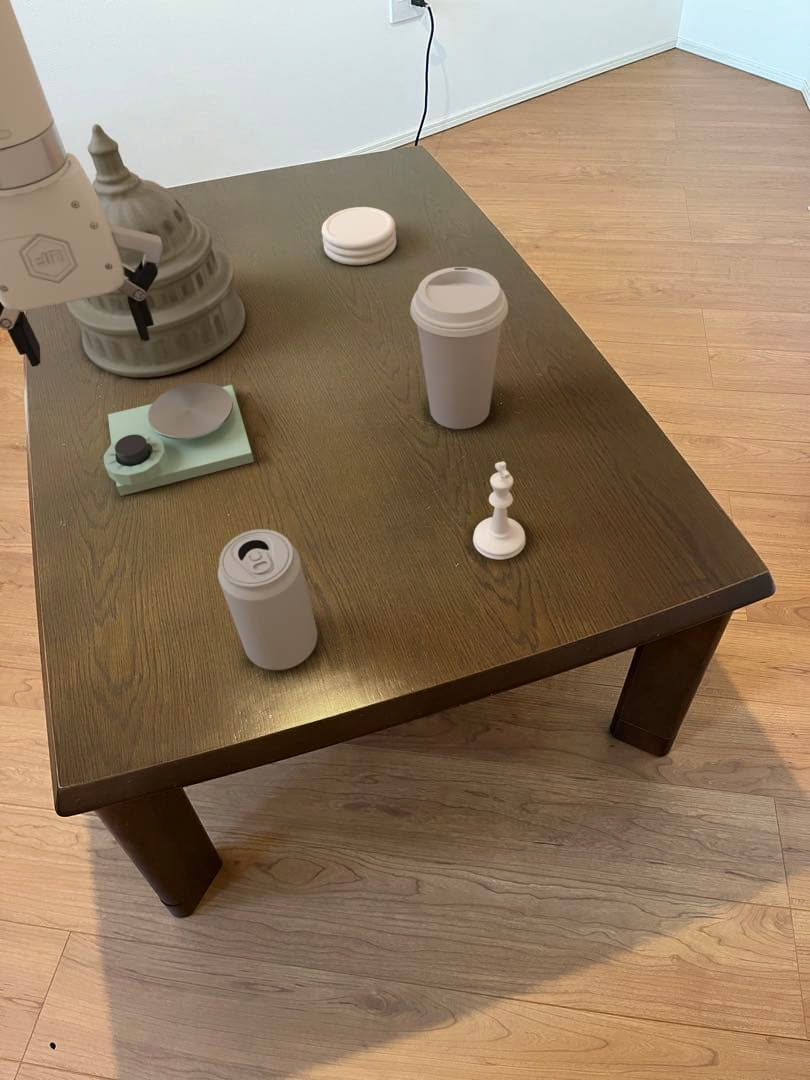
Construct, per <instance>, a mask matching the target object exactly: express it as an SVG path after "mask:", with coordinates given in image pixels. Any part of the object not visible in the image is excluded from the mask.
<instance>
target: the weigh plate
mask: <svg viewBox="0 0 810 1080" xmlns="http://www.w3.org/2000/svg"><path fill="white" fill-rule="evenodd" d="M222 387H223V386H220V385H218V384H215V383H210V382H205V381H204V382H201V381H200V382H199V381H198V382H188V383H184V384H181V385H180V384H179V385H177V386H175V387H173V388H172V387H171V388H170V389H167V390H166V391H164V392H163V393H162V394H160V395H159V396H158V397H157V398H155V400H154V401H153V402H152V403H151V404H152V405H151V407H150V409H149V412H148V421H149V424H150V426H151V428H152V429H153V430H154V431H155V432H156V433H158V434H159V435H161V436H164V437H167V438H171V439H192V438H197V437H200V436H203V435H206V434H208V433H210V432H212V431H214V430H216V429H217V428H219V427H220V426H221V425H223V424H224V423H225V422H226V420H227V419H228V418H229V416H230V414H231V412H232V408H233V403H232V399H231V396H230V394H229V393H228V392H227V391H226V390H225V389H223V388H222Z"/></svg>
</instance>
